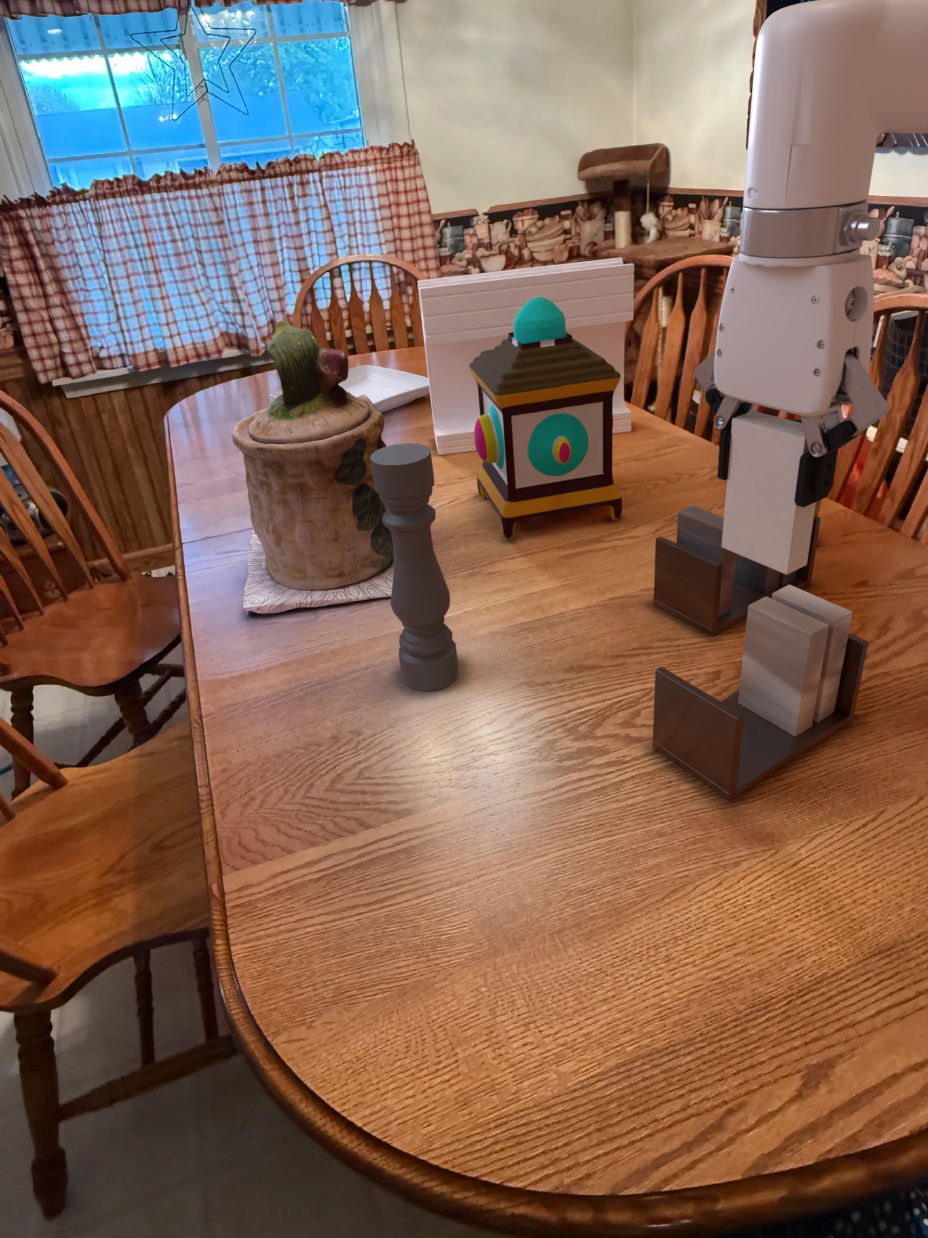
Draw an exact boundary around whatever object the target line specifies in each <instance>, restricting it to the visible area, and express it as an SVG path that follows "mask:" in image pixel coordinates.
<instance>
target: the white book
mask: <svg viewBox="0 0 928 1238" xmlns="http://www.w3.org/2000/svg"><path fill="white" fill-rule="evenodd" d="M787 419H788V418H787ZM787 419H786V418H783V417H779V416H775V415H771V414H766V413H763V412H760V411H755V410H753V411H752V412H749V413H746V414H743V415H740V416H738V417H735V418H732V428H731V443H730V455H729V466H728V478H727V480H726V490H725V500H724V513H723V517H724V524H723V536H722V548H725V549H727V550H729V551H732V552H734V553H737V554H739V555H741V556H744V557H746V558H748V559H751V560H753V561H756V562H758V563H760V564H763V565H765V566H767V567H770V568H772V569H774V570H777V571H779V572H782V573H784V574H786V575H787V574H789V573H791V572H793V571H795V570H797V569H799V568H801V567H803V566H805V565H807V560H808V553H809V546H810V539H811V532H812V525H813V518H814V512H815V505H816V502H815V503H813V504H810V505H808V506H806V507H800V506H797V505H796V503H795V502H794V499H795V492H796V484H797V477H798V469H799V461H800V457H801V455H802V454H805V453H807V452H809V448H808V444H807V440H806V436H805V432H804V428H803V424H802V423H799V422H795V421H791V420H787ZM824 430H825V433H826V429H824Z"/></svg>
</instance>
